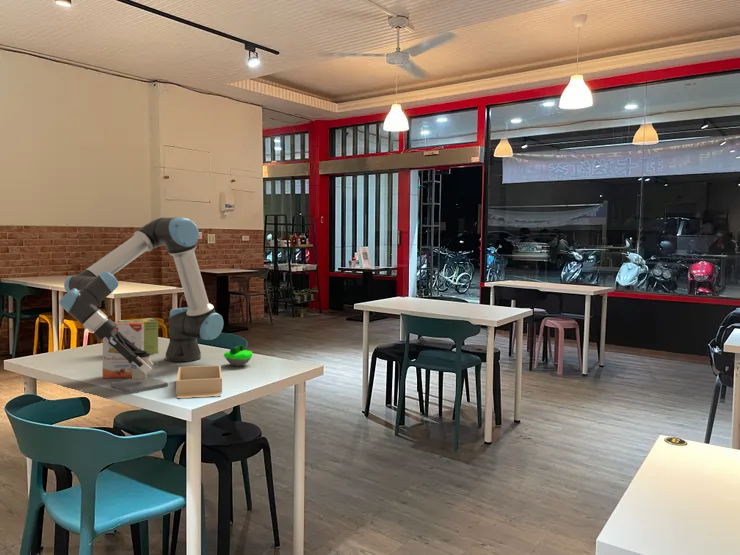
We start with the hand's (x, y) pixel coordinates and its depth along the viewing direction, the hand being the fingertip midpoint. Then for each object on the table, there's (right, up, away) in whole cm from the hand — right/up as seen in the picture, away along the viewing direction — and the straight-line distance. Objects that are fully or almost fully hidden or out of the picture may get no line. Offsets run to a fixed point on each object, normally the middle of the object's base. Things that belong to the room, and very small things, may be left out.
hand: (149, 369), depth 200 cm
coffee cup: (-3, -4, -1) cm, 5 cm away
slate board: (-3, -6, -1) cm, 7 cm away
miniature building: (+23, -5, +37) cm, 44 cm away
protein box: (-28, -2, +57) cm, 64 cm away
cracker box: (-15, -5, +13) cm, 21 cm away
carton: (+18, -6, +1) cm, 19 cm away
